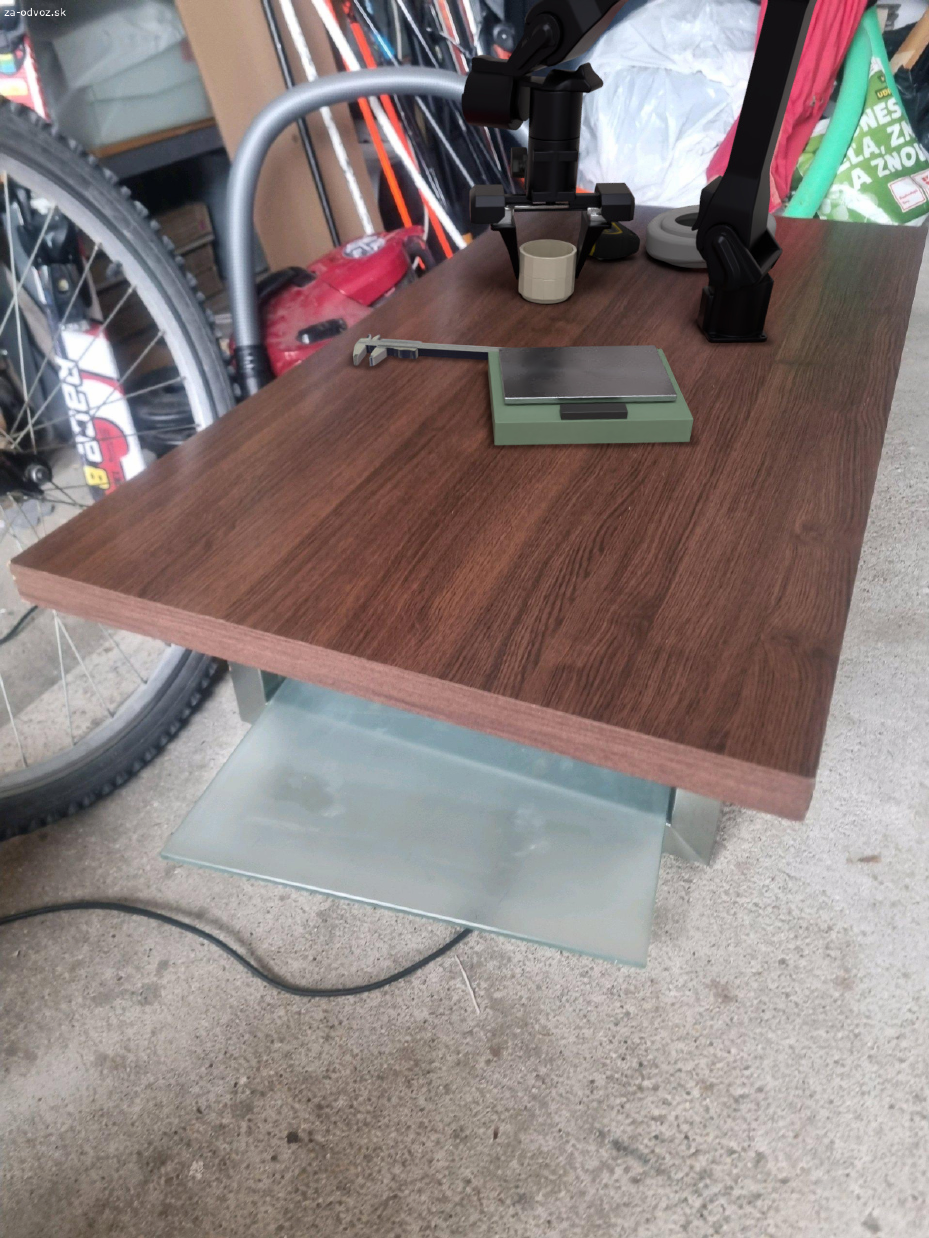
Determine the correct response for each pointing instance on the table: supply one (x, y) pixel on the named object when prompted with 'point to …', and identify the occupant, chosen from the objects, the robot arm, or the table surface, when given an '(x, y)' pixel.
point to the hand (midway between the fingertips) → (546, 278)
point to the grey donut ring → (680, 237)
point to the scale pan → (584, 374)
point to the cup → (547, 270)
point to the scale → (587, 418)
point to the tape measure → (616, 243)
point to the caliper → (415, 350)
